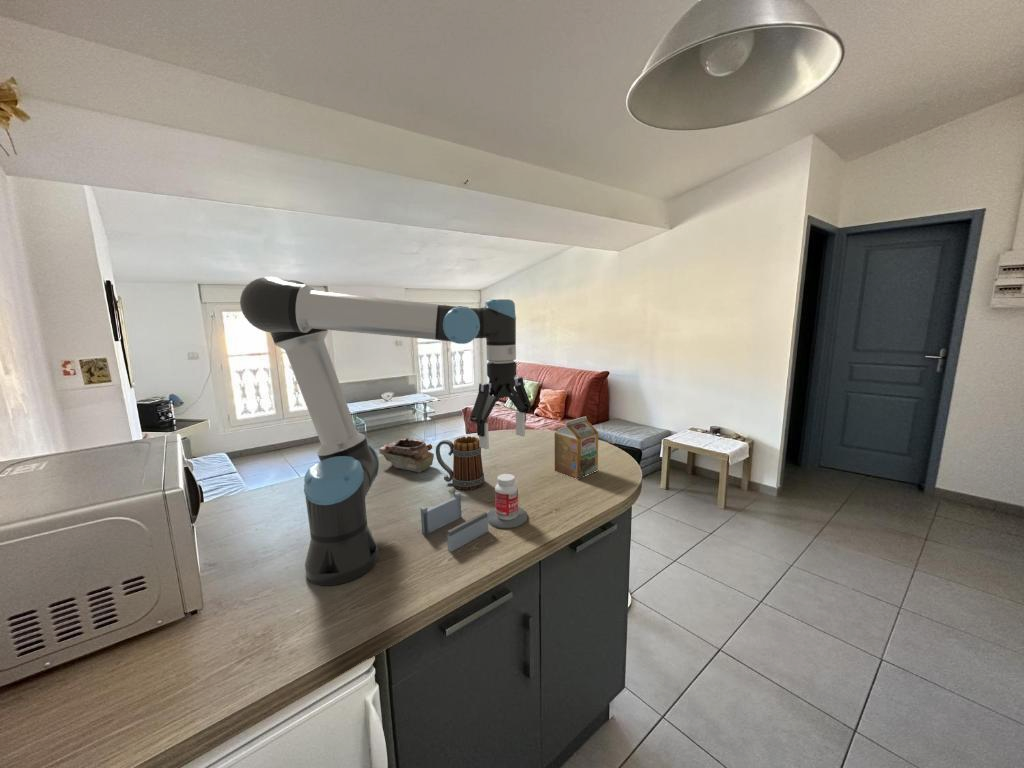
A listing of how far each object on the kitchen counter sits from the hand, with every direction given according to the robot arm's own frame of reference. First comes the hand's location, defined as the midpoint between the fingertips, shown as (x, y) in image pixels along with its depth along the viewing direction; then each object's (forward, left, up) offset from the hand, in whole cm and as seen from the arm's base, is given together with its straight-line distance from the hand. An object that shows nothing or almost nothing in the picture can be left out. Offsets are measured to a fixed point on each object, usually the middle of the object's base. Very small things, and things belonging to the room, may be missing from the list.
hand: (503, 441), depth 104 cm
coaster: (0, -1, -22) cm, 22 cm away
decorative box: (+1, +53, -22) cm, 57 cm away
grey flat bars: (-14, +5, -22) cm, 26 cm away
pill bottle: (0, -1, -21) cm, 21 cm away
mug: (+6, +26, -22) cm, 35 cm away
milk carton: (+39, +4, -22) cm, 45 cm away
